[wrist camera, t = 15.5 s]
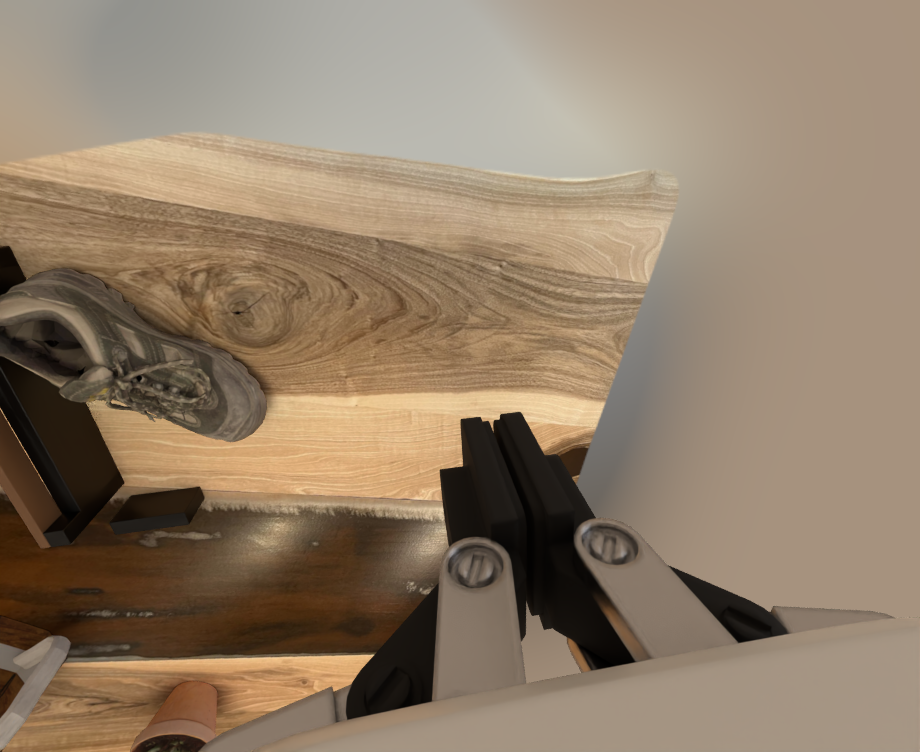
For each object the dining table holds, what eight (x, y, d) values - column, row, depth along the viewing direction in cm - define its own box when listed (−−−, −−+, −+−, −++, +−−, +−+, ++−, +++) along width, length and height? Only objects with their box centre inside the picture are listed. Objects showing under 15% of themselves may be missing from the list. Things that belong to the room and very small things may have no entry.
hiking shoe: (229, 467, 44) (208, 489, 32) (11, 341, 38) (-104, 316, 27) (286, 392, 46) (286, 389, 35) (90, 263, 40) (14, 210, 29)
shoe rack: (-24, 248, 35) (-139, 268, 27) (102, 239, 36) (24, 255, 28) (112, 510, 46) (58, 575, 39) (204, 498, 47) (169, 559, 40)
